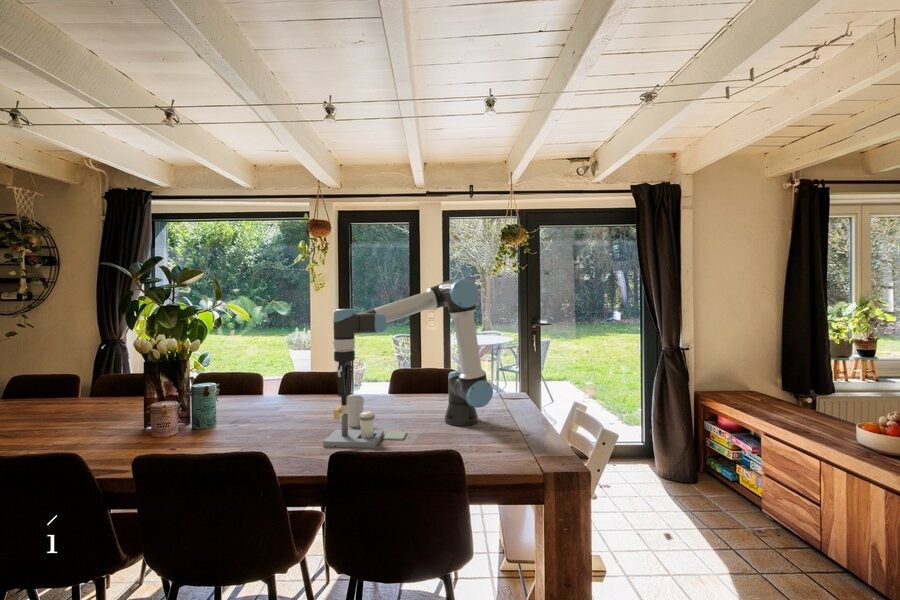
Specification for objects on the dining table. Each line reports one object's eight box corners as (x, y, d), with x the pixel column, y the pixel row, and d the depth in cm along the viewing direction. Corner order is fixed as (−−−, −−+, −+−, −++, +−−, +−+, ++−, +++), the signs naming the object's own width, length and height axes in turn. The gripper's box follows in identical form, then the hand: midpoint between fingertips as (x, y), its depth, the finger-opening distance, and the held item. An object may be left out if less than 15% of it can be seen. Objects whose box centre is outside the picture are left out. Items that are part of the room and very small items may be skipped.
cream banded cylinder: (376, 438, 164) (376, 411, 164) (372, 443, 158) (372, 415, 158) (361, 438, 164) (361, 410, 164) (357, 443, 158) (357, 415, 158)
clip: (340, 419, 149) (340, 408, 149) (332, 419, 149) (331, 408, 149) (349, 409, 163) (349, 399, 163) (341, 409, 163) (341, 399, 163)
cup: (359, 427, 177) (359, 400, 177) (342, 426, 179) (342, 399, 178) (367, 422, 185) (367, 396, 185) (350, 421, 186) (350, 395, 186)
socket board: (383, 435, 168) (383, 406, 167) (375, 447, 154) (374, 416, 153) (336, 434, 169) (336, 405, 169) (323, 446, 155) (323, 415, 155)
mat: (406, 433, 170) (406, 431, 170) (403, 439, 162) (403, 438, 162) (387, 432, 170) (387, 431, 170) (383, 439, 162) (383, 438, 162)
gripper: (340, 347, 159) (341, 408, 159) (328, 352, 146) (329, 418, 146) (359, 347, 158) (360, 408, 159) (348, 352, 145) (349, 418, 146)
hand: (345, 413), depth 152 cm, fingers closed
